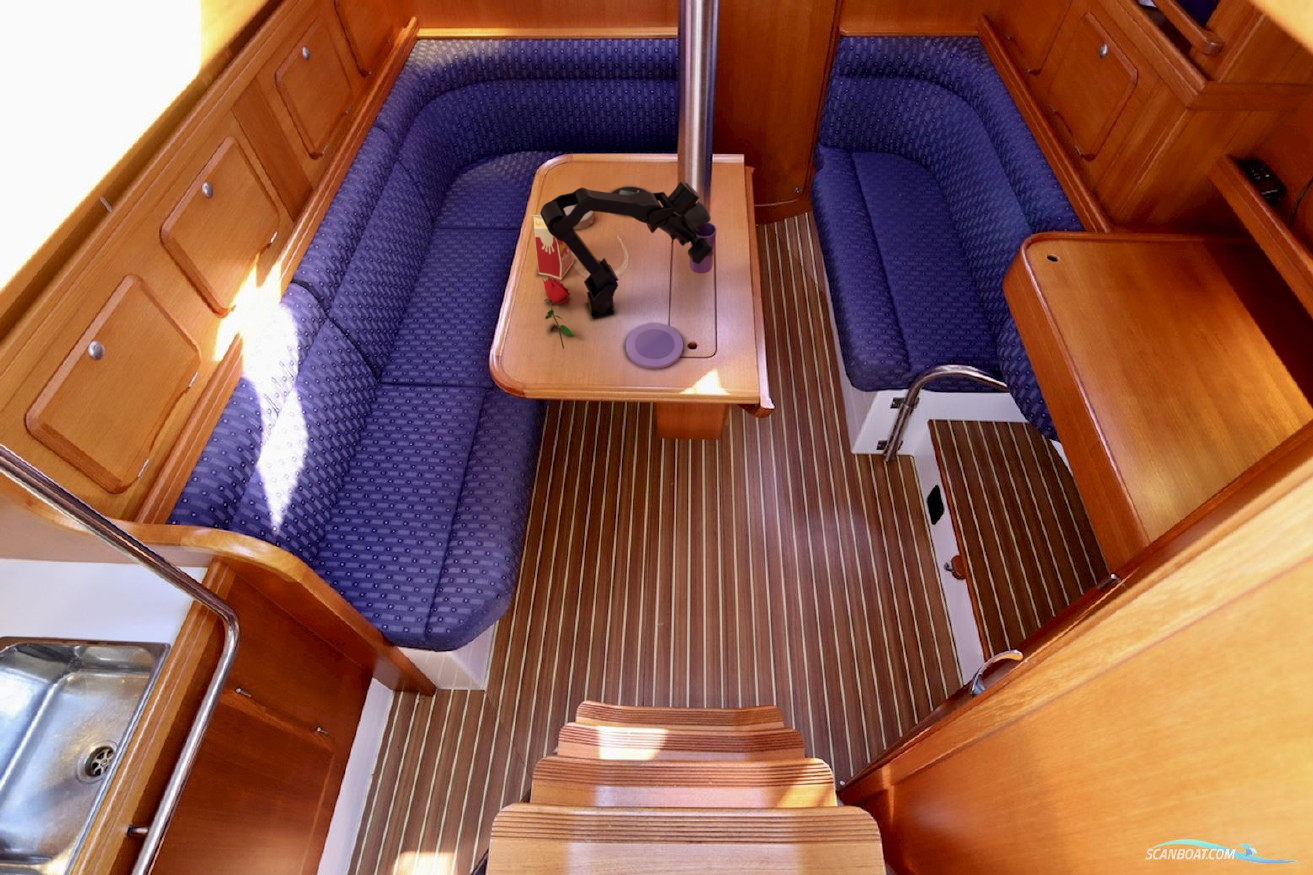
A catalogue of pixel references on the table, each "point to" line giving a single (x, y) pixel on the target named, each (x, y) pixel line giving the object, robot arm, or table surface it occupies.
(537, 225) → the milk carton
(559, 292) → the flower
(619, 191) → the black dish
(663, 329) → the plate
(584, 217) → the alarm clock
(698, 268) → the tumbler
